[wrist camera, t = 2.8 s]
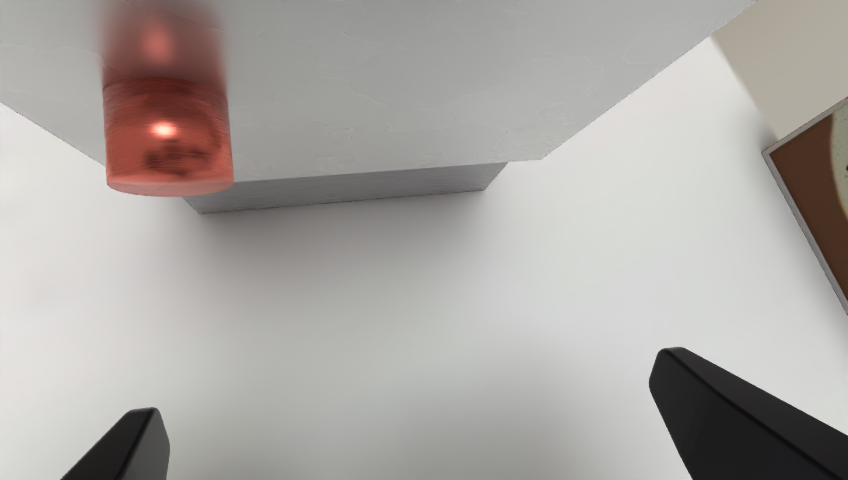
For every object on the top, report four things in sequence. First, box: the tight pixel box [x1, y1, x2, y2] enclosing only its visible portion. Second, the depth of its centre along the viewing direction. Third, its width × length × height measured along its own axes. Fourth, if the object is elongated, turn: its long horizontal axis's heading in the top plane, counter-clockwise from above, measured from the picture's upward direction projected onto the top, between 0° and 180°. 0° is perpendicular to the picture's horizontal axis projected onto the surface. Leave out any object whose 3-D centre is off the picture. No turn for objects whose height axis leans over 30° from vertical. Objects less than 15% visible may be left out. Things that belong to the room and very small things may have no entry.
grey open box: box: [182, 162, 508, 214], centre depth 20 cm, size 12×12×6 cm
